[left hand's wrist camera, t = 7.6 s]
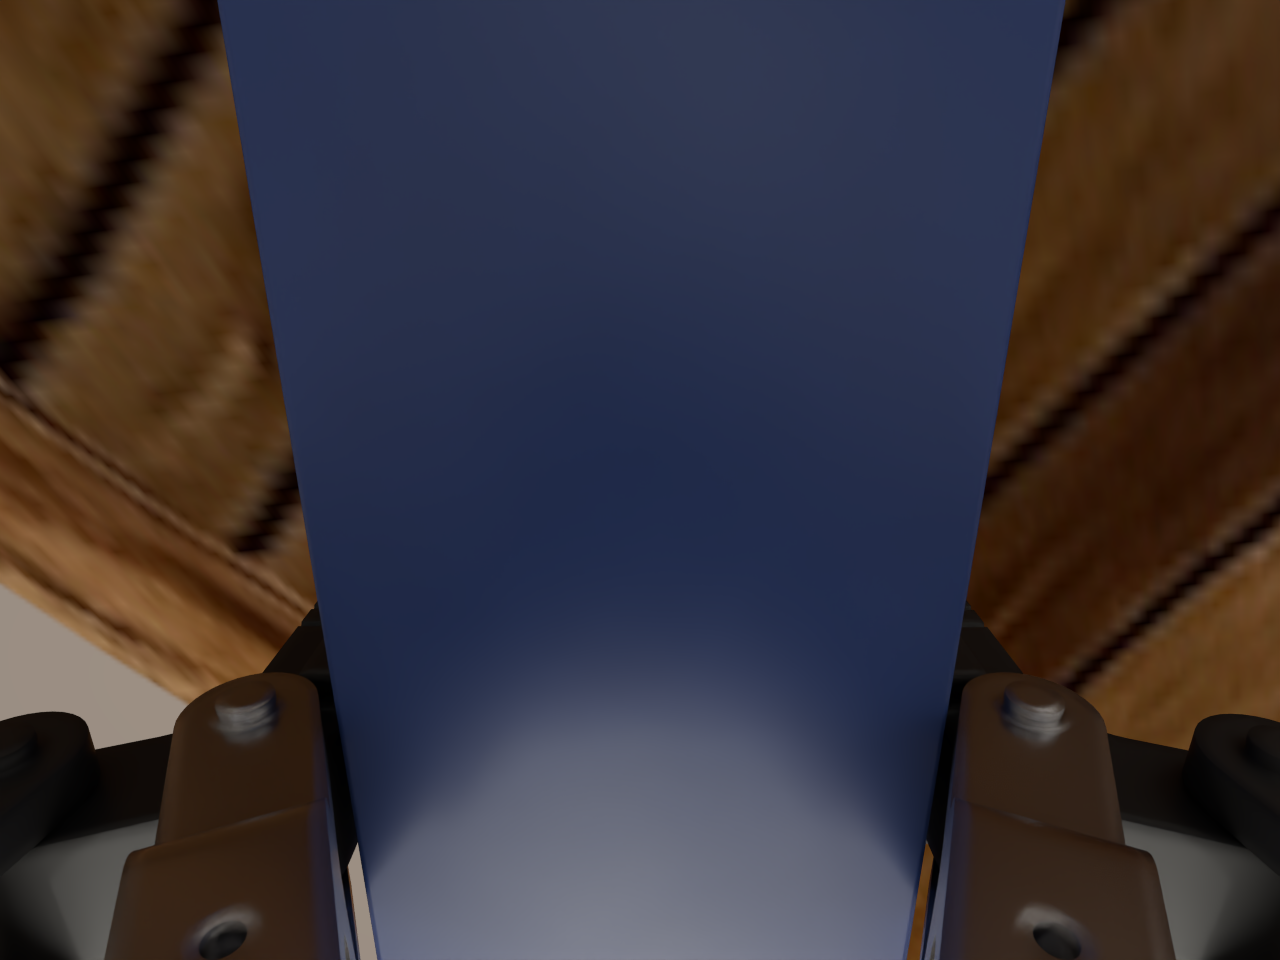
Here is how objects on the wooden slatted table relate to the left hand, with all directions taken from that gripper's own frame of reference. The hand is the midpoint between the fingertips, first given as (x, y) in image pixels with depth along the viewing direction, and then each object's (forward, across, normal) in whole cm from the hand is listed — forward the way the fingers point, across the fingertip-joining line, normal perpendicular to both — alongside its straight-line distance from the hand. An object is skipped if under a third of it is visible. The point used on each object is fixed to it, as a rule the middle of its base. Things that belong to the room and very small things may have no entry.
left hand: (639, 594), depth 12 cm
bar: (+5, 0, -10) cm, 11 cm away
